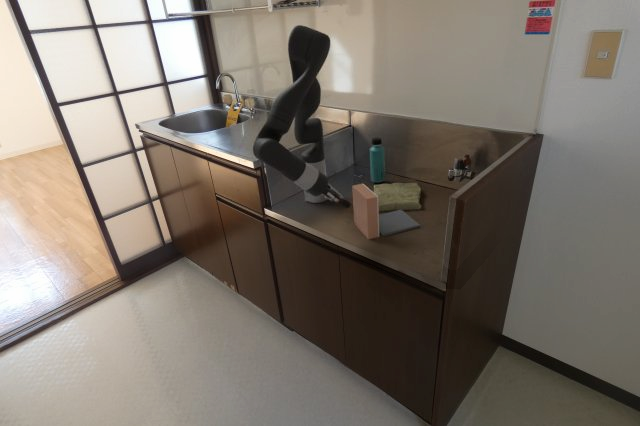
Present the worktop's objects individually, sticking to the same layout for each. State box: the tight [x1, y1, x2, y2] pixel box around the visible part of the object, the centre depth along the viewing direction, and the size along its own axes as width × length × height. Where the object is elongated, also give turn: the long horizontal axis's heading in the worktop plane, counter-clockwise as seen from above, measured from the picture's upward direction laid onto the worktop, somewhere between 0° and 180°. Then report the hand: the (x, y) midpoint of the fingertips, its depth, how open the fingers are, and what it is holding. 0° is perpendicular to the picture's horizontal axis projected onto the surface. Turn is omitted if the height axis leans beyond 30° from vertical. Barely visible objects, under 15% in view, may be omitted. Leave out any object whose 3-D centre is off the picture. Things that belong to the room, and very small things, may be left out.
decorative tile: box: [373, 182, 422, 212], centre depth 153 cm, size 19×20×4 cm
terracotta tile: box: [351, 183, 380, 240], centre depth 130 cm, size 4×12×15 cm, turn 18°
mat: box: [379, 210, 420, 237], centre depth 136 cm, size 14×13×1 cm
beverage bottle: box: [369, 137, 387, 183], centre depth 164 cm, size 6×7×20 cm
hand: (348, 205), depth 127 cm, fingers closed
